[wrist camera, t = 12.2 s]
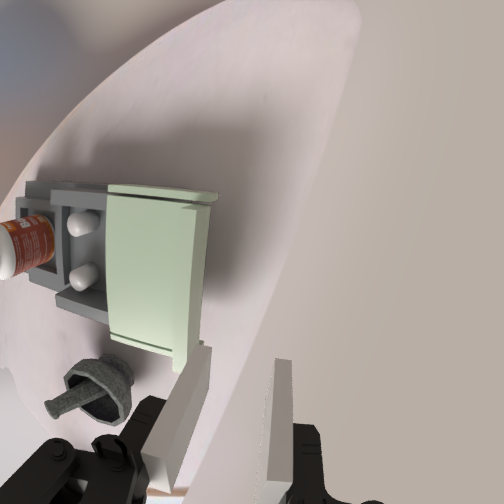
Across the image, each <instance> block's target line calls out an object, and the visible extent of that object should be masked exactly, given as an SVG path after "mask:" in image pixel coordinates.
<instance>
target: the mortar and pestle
mask: <svg viewBox="0 0 504 504" xmlns="http://www.w3.org/2000/svg"><path fill="white" fill-rule="evenodd" d="M63 378H64V382H65V385H66V389H67V391H66V392H65V393H63V394H61V395H60V396H58V397H56V398H55V399H53V400H47V401H45V402H44V404H45V407H46V409H47V411H48V413H49V414H50V416H51V417H52V418H53V419H58V418H59V416H60V415H62V414H64V413H66V412H69V411H71V410H73V409H75V408H78V407H79V408H80V410H82V411H83V412H84V413H86V414H87V415H89V416H90V417H91V418H93V419H94V420H96V421H97V422H100V423H103V424H107V425H111V426H117V425H119V424H120V423H122V422H124V421H125V420H126V418H127V417H128V415H129V413H130V410H131V407H132V401H131V386H132V385H133V384H134V378H133V373H132V371H131V370H130V368H129V367H128V365H127V364H126V363H125V362H124V361H122V360H121V359H119V358H118V357H116V356H115V355H108V354H103V355H102V356H101V357H100V358H99V360H97V359H83V360H81V361H80V362H78V363H76V364H75V365H74V366H73V367H72V368H71V369H70V370H69V371H68V373H67V374H66V375H65V376H64V377H63Z"/></svg>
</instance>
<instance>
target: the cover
mask: <svg viewBox="0 0 504 504" xmlns="http://www.w3.org/2000/svg"><path fill="white" fill-rule="evenodd" d="M108 192H117V193H128V194H139V195H149V196H158V197H168V198H176V199H185V200H193V201H201V202H213V201H216V200H218V195H219V193H215V192H207V191H198V190H189V189H180V188H170V187H160V186H149V185H137V184H109V185H108ZM210 211H211V206H210V205H202V204H194V203H186V202H178V201H169V200H160V199H151V198H142V197H132V196H122V195H107V210H106V287H107V304H108V316H109V327H110V332H112V333H111V334H110V336H111V339H112V340H115V341H118V342H121V343H124V344H128V345H131V346H134V347H137V348H141V349H144V350H148V351H151V352H155V353H158V354H162V355H166V356H170V357H172V367H173V372H177V373H181V372H182V370H183V368H184V366H185V364H186V362H187V361H188V359H189V357H190V355H191V353H192V351H193V349H194V347H195V345H196V344H199V345H204V341H202V340H199V334H200V319H201V305H202V292H203V280H204V269H205V258H206V248H207V238H208V229H209V220H210Z"/></svg>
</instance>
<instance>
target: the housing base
mask: <svg viewBox="0 0 504 504" xmlns="http://www.w3.org/2000/svg"><path fill="white" fill-rule="evenodd" d="M108 185H109V184H103V183H86V182H65V181H26V188H25V197H17V198H16V219H19V218H23V217H27V216H32V215H37V214H42V215H44V216H46V217H47V218H48V219H49V220H50V221H51V223H52V225H53V227H54V230H55V248H56V251H55V254H54V255H53V257H52V258H51V259H50V260H49V261H47V262H45V263H43V264H40V265H38V266H36V267H33V268H31V269H29V270H27V271H24V272H26V273H29V281H30V282H33V283H35V284H38V285H41V286H43V287H46V288H49V289H52V290H54V291H57V292H59V293H57V294H55V299H56V306H57V307H59V308H61V309H64V310H67V311H69V312H72V313H75V314H78V315H80V316H83V317H86V318H89V319H92V320H95V321H98V322H101V323H104V324H107V325H109V316H108V304H107V287H106V210H107V195H122V196H132V197H142V198H151V199H160V200H169V201H178V202H186V203H192V200H185V199H176V198H168V197H158V196H149V195H139V194H128V193H117V192H108Z"/></svg>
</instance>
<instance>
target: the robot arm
mask: <svg viewBox="0 0 504 504" xmlns="http://www.w3.org/2000/svg"><path fill="white" fill-rule="evenodd" d="M211 353H212V347H208V346H204V345H199V344H196V345H195V347H194V349H193V351H192V353H191V355H190V357H189V359H188V361H187V362H186V364H185V366H184V368H183V370H182V372H181V374H180V376H179V378H178V380H177V382H176V384H175V386H174V388H173V389H172V391H171V393H170V395H169V397H168V399H167V400H164V399H161V398H157V397H154V396H151V395H149V396H148V397H146V398H145V399H143V400H142V401H140V403H139V404H138V406H137V407H136V409H135V412H133V414H132V416H131V417H130V419H129V420H128V422H127V424H126V425H125V427H124V429H123V430H122V432H121V433H120V435H119V436H117V435H111V434H106V435H101V436H99V437H97V438H95V439H94V441H93V442H92V443H91V445H92V447H93V449H94V451H95V452H88V451H83V450H78V449H74V448H73V446H72V445H71V444H70V443H69V442H68V441H66V440H64V439H62V438H52V439H49V440H47V441H46V442H45V443H43V445H41V446H40V447H39V449H38V450H37V451H36V452H34V454H33V455H32V456H31V457H30V458H29V459H28V460H27V461H26V462H25V463H24V464H23V465H22V466H21V467H20V468H19V469H18V470H17V471H16V472H15V473H14V474H13V475H12V476H11V477H10V478H9V479H8V480H7V481H6V482H5V483H4V484H3V485H2V486H1V487H0V504H145V503H146V498H147V496H146V489H147V487H148V484H149V483H150V486H151V487H152V488H155V489H158V490H161V491H164V492H167V493H171V492H172V489H173V487H174V484H175V481H176V478H177V476H178V473H179V470H180V467H181V465H182V462H183V459H184V456H185V454H186V451H187V448H188V445H189V443H190V440H191V437H192V434H193V431H194V429H195V426H196V423H197V420H198V418H199V415H200V412H201V409H202V406H203V404H204V401H205V398H206V395H207V392H208V390H209V378H210V365H211ZM292 399H293V398H292V362H291V360H284V359H277V358H275V361H274V366H273V370H272V374H271V378H270V383H269V387H268V391H267V395H266V399H265V409H264V419H263V429H262V439H261V447H260V456H259V465H258V473H257V482H256V490H255V498H254V504H350V503H345V502H341V501H338V500H336V499H334V498H332V497H331V496H330V495H329V494H328V493H327V491H326V489H325V485H324V474H323V463H322V455H321V454H322V451H321V441H320V434H319V432H318V431H317V429H316V428H315V426H314V425H309V424H296V423H293V400H292ZM361 504H384V503H382V502H379V501H375V500H373V501H366V502H363V503H361Z"/></svg>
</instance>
